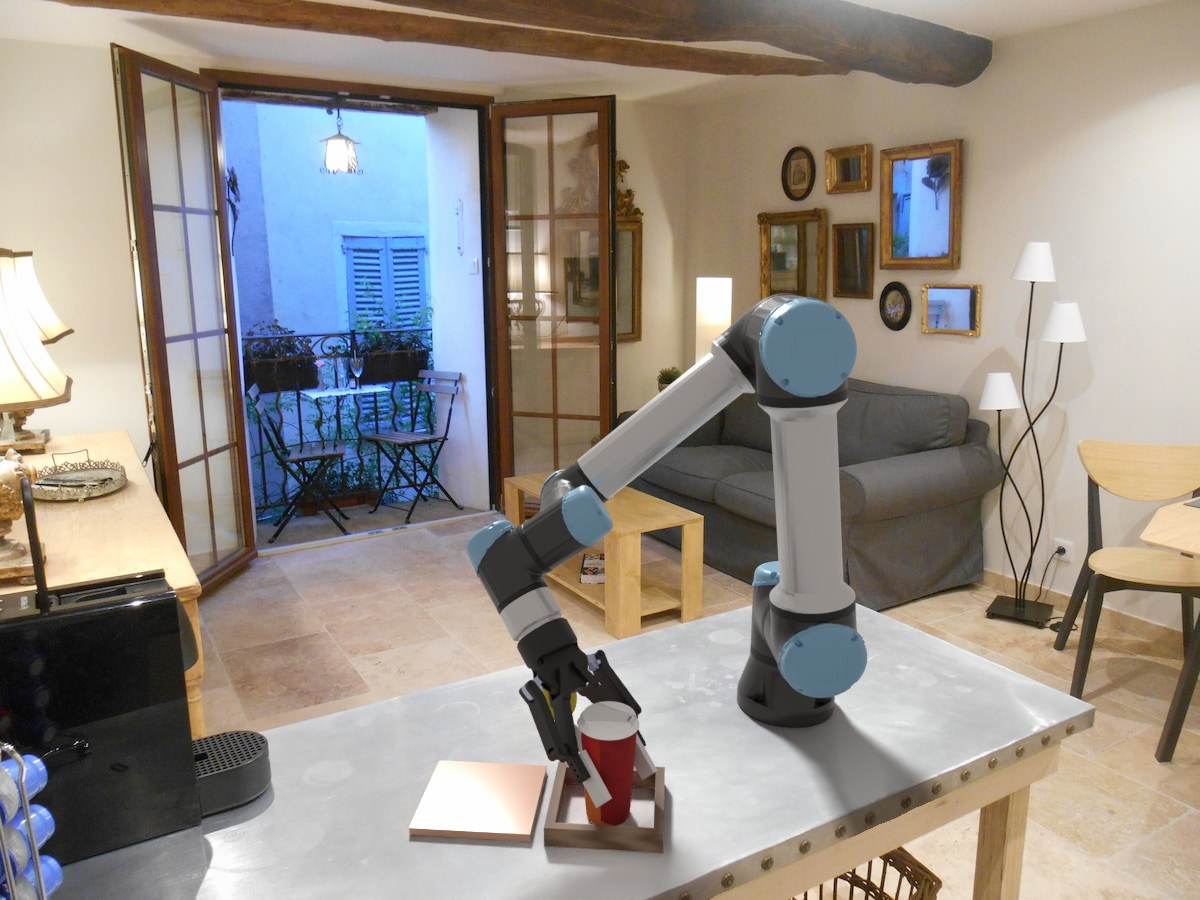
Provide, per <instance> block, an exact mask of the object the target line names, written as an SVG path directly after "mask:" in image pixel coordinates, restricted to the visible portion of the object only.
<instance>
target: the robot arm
mask: <svg viewBox="0 0 1200 900" xmlns="http://www.w3.org/2000/svg"><path fill="white" fill-rule="evenodd" d="M852 327H853V326H852V325H851V324H850V322H849V320H848V318H846V317H845V316H844V314H842V313H841V311H839V310H838V309H837V308H836V307H834V306H833V305H831V304H830V303H828V302H826V301H824V300H821V299H819V298H814V297H806V296H803V295H799V294H796V293H790V292H789V293H788V292H787V293H786V292H785V293H784V292H781V293H776V294H772V295H770V296H768V297H764V298H763V299H761V300H760V301H759V302H757V303H756V304H754V305H753V306H751V307H750V308H749V309H748V310H747V311H746V312H745V313H743V314H742V315H741V316H740V317H739V318H738V319H737V320H736V321H735V322H733V323H732V324H731V325H729V327H727V329H726V330H725V331H723V332H722V333H720V335H719V336H717V337H716V338H714V339H713V340H712V341H711V346H710V347H711V348H710V351H709V352H708V353H707V354H706V355H704V357H702V358H701V359H700V360H699V361H698V362H696V363H695V364H693V366H691V367H690V368H688V370H686V371H685V372H684V373H682V374H681V375H680V376H679V377H678V378H676V379H675V380H674V381H673V382H672V383H670V384H669V385H667V387H665V388H664V389H663V390H662V391H660V392H658V394H656V395H655V396H654V397H653V398H651V400H649V401H648V402H647V403H645V404H644V405H643V406H641V408H639V409H638V410H637V411H636V412H635V413H633V414H632V415H631V416H630V417H628V418H627V419H626V420H624V421H623V422H622V423H621V424H619V425H618V426H617V427H616V428H615V429H614V430H612V431H611V432H610V433H609V434H607V435H606V436H605V437H604V438H602V439H600V441H599V442H597V443H596V444H595V445H594V446H592V447H591V448H590V449H589V450H587V451H586V452H585V453H583V455H581V456H580V457H579V458H578V459H577V460H576V461H574V462H573V463H572V464H570V465H569V466H568V467H566V468H563V469H560V470H556V471H554V472H553V473H551V474H550V475H549V476H548V477H547V478H546V480H545V481H544V482H543V485H542V487H541V490H540V494H539V503H540V508H539V512H538V513H535V515H534V516H532V517H531V518H529V519H528V520H526V521H525V522H523V523H522V524H520V525H517V526H515V525H514V524H513V522H511V521H510V520H507V519H505V520H503V519H501V520H497V521H494V522H492V523H490V524H489V525H486V526H483V527H482V528H480V529H479V530H477V532H475V533H474V534H473V535H472V536H470V538H469V540H468V541H467V544H466V553H467V556H468V558H469V560H470V562H471V564H472V566H473V569H474V571H475V575H476V577H477V578H478V579H479V581H480V583H481V584H482V586H483V587H484V589H485V591H486V593H487V594H488V597H489V598H490V600H491V602H492V603H493V605H494V607H495V609H496V611H497V613H498V615H499V617H500V619H501V621H502V622H503V624H504V626H505V628H506V630H507V632H508V634H509V635H510V637H511V639H512V640H513V641H514V642H517V644H516V645H517V646H516V649H517V650H518V651H517V652H518V653H519V654H520V656H521V659H522V660H523V662H524V664H525V665H526V667H527V668H528V669H529V670H531V672H532V676H533V677H532V679H529V680H528V681H526V683H525V684H524V685H522V686H521V687H520V688H519V689H518V693H519V695H520V697H521V698H522V699H523V700H524V702H525V703H526V705H527V706H528V709H529V711H530V714H531V716H532V720H533V723H534V724H535V727H536V730H537V732H538V735H539V739H540V741H541V743H542V746H543V749H544V751H545V754H546V757H547V758H548V760H549V761H550V762H555V761H558V762H561V763H564V762H567V764H568V766H569V768H570V770H571V771H572V773H573V775H574V777H575V779H576V781H577V782H578V783H579V784H578V785H580V784H581V783H583V784H584V785H583V786H585V788H586V790H587V792H588V794H589V795H590V797H591V799H592V801H593V803H594V805H595V807H596V808H598V807H599V806H601V805H602V804H604V803H606V802H607V801H609V800H610V799H612V797H611V796H610V794H609V792H608V790H607V788H606V786H605V784H604V783H603V781H602V779H601V777H600V775H599V773H598V772H597V770H596V768H595V766H594V764H593V762H592V761H591V759H590V757H589V755H588V753H587V751H586V750H583V751H582V750H581V751H580V750H579V744H578V737H577V733H576V727H575V726H576V725H575V720H574V715H573V714H572V709H571V704H570V699H571V694H573V693H577V694H578V695H579V696H581V697H584V698H586V699H587V700H588V701H590V703H592V704H595V703H598V702H604V701H613V702H619V703H623V704H626V705H628V706H629V707H631V708H632V709H633V710H634V711H635V713H636V717H637V719H638V720H639V716H640V714H641V713H642V712H643V711H642V708H641V706H640V704H639V703H638V702H637V700H636V699H635V698H634V696H633V694H631V692H630V691H629V690H628V688H627V687H626V685H625V684H624V682H623V681H622V680H621V678H620V677H619V676H618V675H617V673H616V672H615V670H614V669H613V667H612V666H611V665H610V663H609V661H608V658H607V656H606V653H605V651H604V650H603V649H598V650H597V651H596V652H595V653H590V654H586V653H585V652H584V651H583V650H582V649H581V648H580V647H579V643H578V637H577V635H576V634H575V631H574V630H573V628H572V626H571V624H570V623H569V621H568V619H567V618H565V617H562V615H563V612H564V611H563V610H562V608H561V606H560V604H559V603H558V600H557V599H556V598H555V596H554V594H553V592H552V591H551V589H550V587H549V585H548V583H547V582H546V580H545V578H544V576H545V575H547V574H549V573H550V572H552V571H553V570H555V569H556V568H558V567H560V566H561V565H562V564H564V563H566V562H568V561H569V560H570V559H572V558H574V557H575V556H578V554H579V553H582V552H583V551H585V550H586V549H589V547H592V546H594V545H596V544H597V543H599V541H600V540H601V539H603V538H604V537H605V536H606V535H608V534H609V533H611V531H612V530H613V528H614V521H613V518H612V516H611V515H610V513H609V511H608V509H607V507H606V506H605V503H606V502H607V501H609V500H610V499H611V498H612V497H614V496H615V495H616V494H617V493H619V492H620V491H622V490H623V489H624V488H625V487H626V486H627V485H629V484H630V483H631V482H633V481H634V480H635V479H636V478H637V477H639V476H641V474H643V473H644V472H645V471H646V470H648V469H649V468H651V466H653V464H655V463H656V462H658V461H660V459H662V458H663V457H664V456H665V455H667V454H668V453H669V452H671V450H674V448H676V447H677V446H678V445H679V444H680V443H681V442H683V441H684V440H685V439H687V438H688V437H689V436H690V435H692V434H693V433H694V432H696V431H697V430H698V429H699V428H700V427H702V426H703V425H705V424H706V423H707V422H708V421H710V420H711V419H712V418H714V417H715V415H717V414H718V413H720V412H721V411H722V410H723V409H725V408H726V407H728V405H729V404H731V403H732V402H734V401H735V400H736V399H737V398H738V397H740V396H741V395H742V394H754V393H757V395H756V396H757V405H758V406H759V408H760V409H762V410H763V411H764V412H765V413H766V414H768V416H769V419H770V435H771V452H772V453H771V454H772V470H773V485H774V486H773V488H774V503H775V506H774V507H775V520H776V539H777V541H776V542H777V556H778V557H777V558H778V560H775V561H768V562H764V563H762V564H760V565H758V566H757V567H756V568H755V571H754V574H753V580H752V583H751V586H752V601H751V602H752V606H751V625H750V626H751V628H750V630H751V631H750V649H749V651H750V652H749V656H748V659H747V660H746V663H745V665H744V669H743V671H742V673H741V675H740V678H739V681H738V682H737V689H736V691H737V692H736V702H737V705H738V707H739V708H740V709H741V710H742V711H743V712H744V713H746V714H747V715H748V716H750V717H752V718H754V719H755V720H757V721H761V722H762V723H763V722H764V723H766V724H770V725H775V726H781V727H791V728H797V727H798V728H800V727H801V728H803V727H809V726H815V725H818V724H821V723H823V722H825V721H827V720H828V719H830V718H831V716H832V715H833V713H834V710H835V700H836V698H835V697H836V696H839V695H842V694H843V693H845V692H847V691H849V690H850V689H851V688H852V686H854V685H855V683H858V682H859V680H860V679H861V678H862V677H863V675H864V673H865V672H866V668H867V664H868V651H867V647H866V644H865V640H864V638H863V636H862V635H861V633H859V632H858V627H857V626H858V625H857V604H856V601H857V600H856V593H855V592H856V591H855V590H854V588H852V587H851V586H850V585H849V584H847V582H845V581H844V565H843V561H844V560H843V540H842V537H843V536H842V518H841V517H842V513H841V512H842V511H841V510H842V509H841V493H840V492H841V488H840V485H841V484H840V467H839V465H840V463H839V461H840V460H839V442H838V441H839V439H838V437H839V436H838V416H837V415H838V414H837V413H838V411H840V409H841V408H842V407H843V406H844V405H845V404H846V403H847V402H848V400H849V395H848V394H849V391H848V390H849V389H848V387H849V386H848V377H849V376H850V375H851V373H852V370H854V366H855V363H856V361H857V353H858V347H857V345H858V344H857V339H856V335H855V332H854V329H853V328H852ZM542 689H544V690H546V691H548V695H549V701H550V706H551V708H553V713H554V718H553V716H552V713H551V710H550V708H549V705H548V703H547V700H546V698H545V696H544V694H543V692H542ZM554 719H555V720H554ZM646 743H647V742H646V741H645V738H644V737H643V735H642V733H641V731H640V730H639V729H638V730H637V734H636V750H635V760H634V766H635V768H636V770H637V772H638V773H639V775H640V777H641V779H642V780H644V779H645V778H647V777H648V776H650V775H652V774H653V773H655V772H656V771H658V770H657V768H656V767H657V766H656V765H655V764H654V761H653V760H652V758H651V756H650V754H649V753H648V751H647V749H646V746H647V744H646Z"/></svg>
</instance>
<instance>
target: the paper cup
mask: <svg viewBox="0 0 1200 900" xmlns="http://www.w3.org/2000/svg"><path fill="white" fill-rule="evenodd" d="M576 724H577V727H578V729H579V731H580V738H581V742H580V743H581V751H583V750H586V751H587V753H588V755H589V757H590V759H591V761H592V762H593V764H594V766H595V768H596V770H597V772H598V773H599V775H600V777H601V779H602V781H603V783H604V784H605V786H606V788H607V790H608V792H609V794H610V796H611V797H612V799H610V800H609V801H607V802H606V803H604V804H602V805H601V806H599V807H598V808H596V807H595V805H594V803H593V801H592V799H591V797H590V795H589V794H588V792H587V790H586V788H585V786H584V785H583V786H584V787H583V788H584V789H583V790H584V803H585V812H586V817H587V819H588V820H589V821H590V822H591V823H592V824H593V825H610V826H621V825H622V824H624V823H625V822H626V821H627V820H629V816H630V812H631V805H632V804H631V803H632V795H633V794H632V793H633V787H632V783H633V770H634V760H635V750H636V734H637V730H639V728H640V720H639V718H638V719H637V717H636V713H635V711H634V710H633V709H632V708H631V707H629V706H628V705H626V704H623V703H619V702H613V701H604V702H598V703H595V704H593V703H592V704H590V705H588V706H587V707H585V709H584V710H583V711H582V712H581V713H580V715H579V717H578V719H577V721H576Z"/></svg>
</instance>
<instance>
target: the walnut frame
mask: <svg viewBox="0 0 1200 900" xmlns="http://www.w3.org/2000/svg"><path fill="white" fill-rule="evenodd" d="M556 767H557V768H556V771H555V776H554V780H553V781H554V782H553V784H552V790H551V794H550V799H549V803H548V808H547V812H546V817H545V821H544V825H543V846H544V847H553V848H567V849H568V848H570V849H589V850H600V851H601V850H605V851H621V852H625V851H626V852H638V853H654V854H655V853H656V854H663V853H664V835H665V834H664V831H665V830H664V825H665V823H664V822H665V819H664V818H665V785H666V784H665V779H666V778H665V775H666V774H665V773H666V772H665V771H666V766H655V767H656V768H657V770H658V771H656V772H655V773H653V774H652V775H650V776H648V777H647V778H645V779H644V780H642V779H641V777H640V775H639V773H638V772H637V770H636V768H635V766H634V770H633V783H632V788H640V789H641V788H642V789H643V788H644V789H654V809H653V810H654V811H653V827H645V826H644V827H642V826H629V825H627V826H626V825H625V826H624V825H617V826H610V825H596V824H593V823H592V824H589V823H588V824H587V823H571V822H570V823H569V822H560V817H561V812H562V806H563V801H564V797H565V792H566V787H567V785H581V786H582V785H583V786H584V784H583V783H581V784H579V783H578V782H577V781H576V779H575V777H574V775H573V773H572V771H571V770H570V768H569V766H568V764H567V762H564V763H561V762H560V761H558V763H557V766H556Z"/></svg>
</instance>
